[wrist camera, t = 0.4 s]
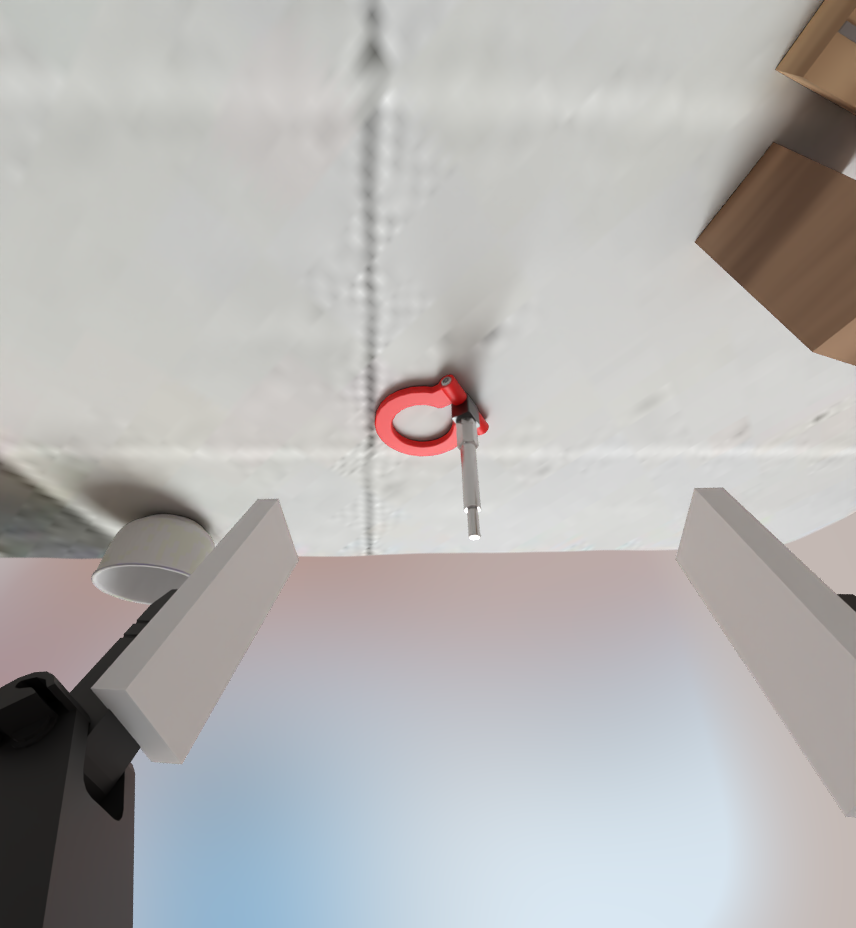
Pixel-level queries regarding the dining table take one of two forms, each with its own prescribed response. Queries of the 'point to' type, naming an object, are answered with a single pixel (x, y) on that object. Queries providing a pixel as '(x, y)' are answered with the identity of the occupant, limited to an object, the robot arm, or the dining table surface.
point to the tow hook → (460, 435)
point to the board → (827, 54)
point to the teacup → (152, 557)
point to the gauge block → (794, 247)
